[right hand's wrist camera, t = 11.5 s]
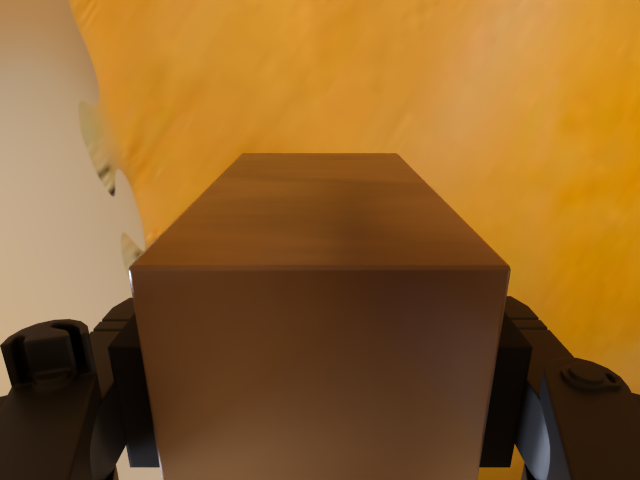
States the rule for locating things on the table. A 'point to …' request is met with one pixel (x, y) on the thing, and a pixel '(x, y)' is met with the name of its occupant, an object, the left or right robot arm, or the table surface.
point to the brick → (319, 325)
